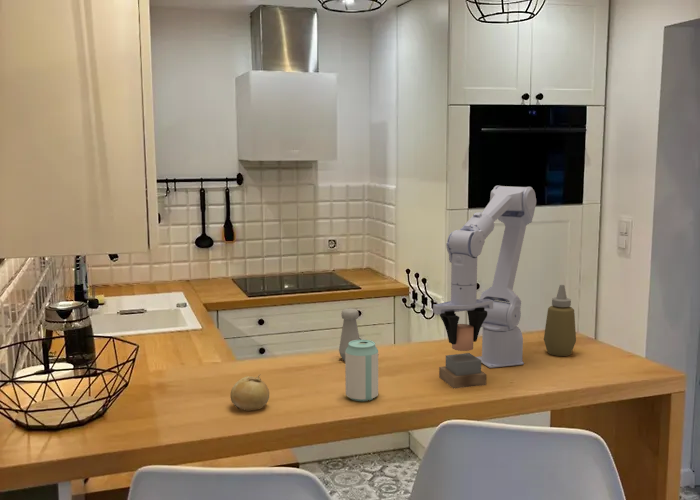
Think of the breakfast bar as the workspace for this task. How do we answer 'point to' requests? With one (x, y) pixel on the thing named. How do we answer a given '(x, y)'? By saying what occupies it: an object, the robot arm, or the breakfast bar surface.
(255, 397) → the onion
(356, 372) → the can
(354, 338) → the salt shaker
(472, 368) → the charcoal block
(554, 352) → the squeeze bottle
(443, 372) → the walnut slab
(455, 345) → the salmon cylinder
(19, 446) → the breakfast bar surface
